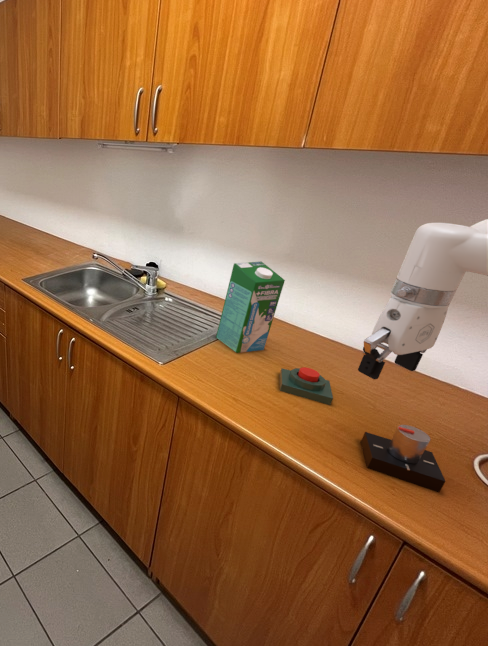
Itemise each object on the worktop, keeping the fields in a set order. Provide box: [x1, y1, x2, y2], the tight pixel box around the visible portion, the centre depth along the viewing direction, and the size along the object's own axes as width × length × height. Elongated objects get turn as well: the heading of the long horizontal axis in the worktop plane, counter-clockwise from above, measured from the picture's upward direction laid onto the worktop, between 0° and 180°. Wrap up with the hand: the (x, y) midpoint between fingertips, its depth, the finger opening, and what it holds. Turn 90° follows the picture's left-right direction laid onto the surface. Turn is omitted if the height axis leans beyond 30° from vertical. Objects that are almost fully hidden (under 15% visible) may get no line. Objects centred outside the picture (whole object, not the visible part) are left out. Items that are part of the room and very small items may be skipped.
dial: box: [387, 424, 431, 464], centre depth 76 cm, size 4×4×6 cm
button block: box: [278, 367, 334, 406], centre depth 99 cm, size 10×8×4 cm
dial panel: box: [359, 431, 446, 493], centre depth 78 cm, size 10×9×3 cm
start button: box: [298, 366, 321, 382], centre depth 98 cm, size 4×4×2 cm
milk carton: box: [215, 261, 286, 354], centre depth 115 cm, size 9×9×25 cm
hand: (385, 370), depth 78 cm, fingers open, 9 cm apart
